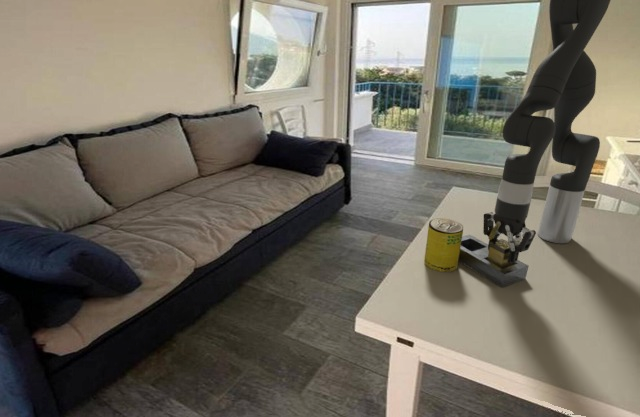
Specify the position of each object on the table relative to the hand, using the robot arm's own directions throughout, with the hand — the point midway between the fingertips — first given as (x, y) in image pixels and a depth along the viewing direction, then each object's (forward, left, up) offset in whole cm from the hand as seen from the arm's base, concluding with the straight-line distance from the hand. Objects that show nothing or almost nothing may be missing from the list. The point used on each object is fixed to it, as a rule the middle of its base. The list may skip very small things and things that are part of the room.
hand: (501, 256), depth 100 cm
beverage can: (+10, -11, -5) cm, 16 cm away
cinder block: (0, -5, -5) cm, 7 cm away
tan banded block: (0, 0, -5) cm, 5 cm away
